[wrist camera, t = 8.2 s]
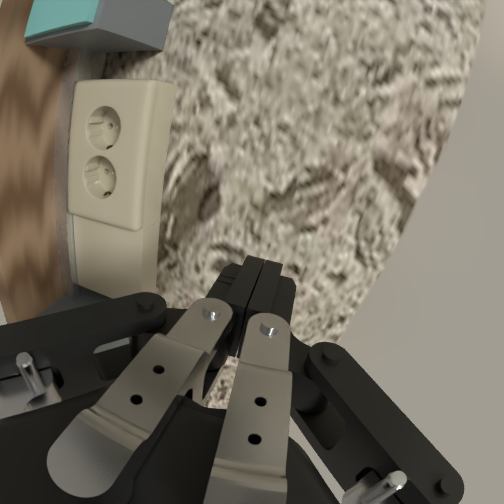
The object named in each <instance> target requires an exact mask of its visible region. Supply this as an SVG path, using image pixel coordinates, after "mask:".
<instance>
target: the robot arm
mask: <svg viewBox="0 0 504 504" xmlns="http://www.w3.org/2000/svg"><path fill="white" fill-rule="evenodd" d="M264 262H265V264H264ZM282 266H283V264H281V263H277V262H273V261H269V260H266V261H265V259H261V258H257V257H253V256H250V255H247V257H246V259H245V261H244V263H243V265H238V264H234V263H232V264H230V265H228V266H226V267H224V268H223V270H222V272H221V273H220V276H218V278H217V280H216V281H215V283H214V284H213V286H212V288H211V289H210V291H209V293H208V294H207V296H206V297H205V298H202V299H198V300H196V301H195V302H194V303H193V304H192V305H191V306H190V307H189V308H188V309H174V308H167V304H166V301H165V299H164V298H163V297H161V296H160V295H158V294H155V293H152V292H139V293H135V294H131V295H127V296H123V297H119V298H115V299H110V300H106V301H102V302H98V303H94V304H90V305H86V306H82V307H78V308H73V309H69V310H65V311H61V312H57V313H53V314H48V315H44V316H40V317H36V318H31V319H27V320H23V321H19V322H14V323H10V324H6V325H1V326H0V504H340V503H339V502H338V500H337V499H336V497H335V496H334V494H333V493H332V492H331V490H330V489H329V487H328V486H327V484H326V483H325V481H324V480H323V478H322V476H321V475H320V473H319V472H318V470H317V469H316V467H315V466H314V464H313V463H312V461H311V460H310V458H309V456H308V455H307V454H306V452H305V451H304V450H303V449H302V448H301V446H300V445H299V444H298V443H296V442H295V441H294V440H293V439H292V438H290V437H289V436H288V435H289V421H290V416H291V417H292V419H293V420H294V422H295V423H296V424H297V426H298V427H299V429H300V430H301V432H302V433H303V435H304V436H305V437H306V439H307V440H308V442H309V443H310V445H311V446H312V447H313V449H314V450H315V452H316V453H317V454H318V456H319V457H320V459H321V460H322V461H323V463H324V464H325V465H326V467H327V468H328V470H329V471H330V472H331V474H332V475H333V476H334V478H335V479H336V480H337V482H338V483H339V485H340V486H341V487H342V489H343V490H344V491H345V494H344V495H343V498H342V504H458V503H459V502H460V501H461V499H462V497H463V494H464V483H463V480H462V478H461V476H460V475H459V473H458V472H457V471H456V470H455V469H454V468H453V467H452V466H451V464H450V463H449V462H448V461H447V460H446V459H445V458H444V457H443V456H442V455H441V453H440V452H439V451H438V450H436V448H435V447H434V446H433V445H432V444H431V443H430V441H429V440H428V439H427V438H426V437H425V436H424V435H423V434H422V433H421V432H420V431H419V429H418V428H417V427H416V426H415V425H414V424H413V423H412V422H411V421H410V420H409V418H407V416H406V415H405V414H404V413H403V412H402V411H401V410H400V409H399V408H398V407H397V405H396V404H395V403H394V402H393V401H392V400H391V399H390V398H389V397H388V396H387V395H386V393H385V392H384V391H383V390H382V389H381V388H380V387H379V386H378V385H377V384H376V382H375V381H374V380H373V379H372V378H371V377H370V376H369V375H368V374H367V373H366V372H365V370H364V369H363V368H362V367H361V366H360V365H359V364H358V363H357V362H356V361H355V360H354V359H353V358H352V356H351V355H350V354H349V353H348V352H347V351H346V350H345V349H344V348H342V347H341V346H339V345H337V344H334V343H330V342H319V343H316V344H315V345H313V346H312V347H310V346H308V345H306V344H304V343H302V342H301V341H299V340H298V339H297V338H296V337H295V336H294V335H293V334H292V332H291V330H290V321H291V315H292V309H293V304H294V298H295V292H296V285H295V283H294V281H293V279H292V278H288V277H284V276H280V274H281V270H282ZM128 337H129V344H126V345H122V346H119V347H116V348H112V349H109V350H105V351H102V352H98V353H94V351H95V349H96V348H97V347H99V346H101V345H104V344H107V343H111V342H114V341H118V340H121V339H124V338H128ZM238 348H239V349H238ZM237 350H238V354H237V358H240V359H239V362H238V366H237V370H236V375H235V379H234V383H233V387H232V391H231V395H230V399H229V403H228V407H227V410H226V409H215V408H206V407H204V405H205V403H206V401H207V399H208V397H209V395H210V393H211V392H212V390H213V388H214V386H215V384H216V382H217V380H218V378H219V376H220V374H221V373H222V370H223V365H224V364H225V362H226V360H227V357H228V355H229V356H233V357H235V356H236V353H237Z"/></svg>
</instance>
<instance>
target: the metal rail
mask: <svg viewBox="0 0 504 504" xmlns="http://www.w3.org/2000/svg"><path fill="white" fill-rule="evenodd" d="M106 55H107V53H105V52H100V51H96V50H91V49H86V48H74V49H68V50H67V52H66V58H65V63H64V68H63V74H62V81H61V88H60V95H59V103H58V112H57V123H56V137H55V157H54V203H55V224H56V238H57V249H58V258H59V267H60V274H61V282H62V288H63V295H64V296H66V297H68V298H70V299H73V300H76V299H77V298H78V297H79V296H80V295H82V294H83V293H84V292H85V291H86V290H88V288H85V287H83V286H80V285H78V276H77V266H76V255H75V241H74V222H73V214H70V213H69V211H68V157H69V139H70V127H71V116H72V107H73V99H74V91H75V85H76V83H77V82H78V81H80V80H96V79H102V77H103V71H104V65H105V60H106Z"/></svg>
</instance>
